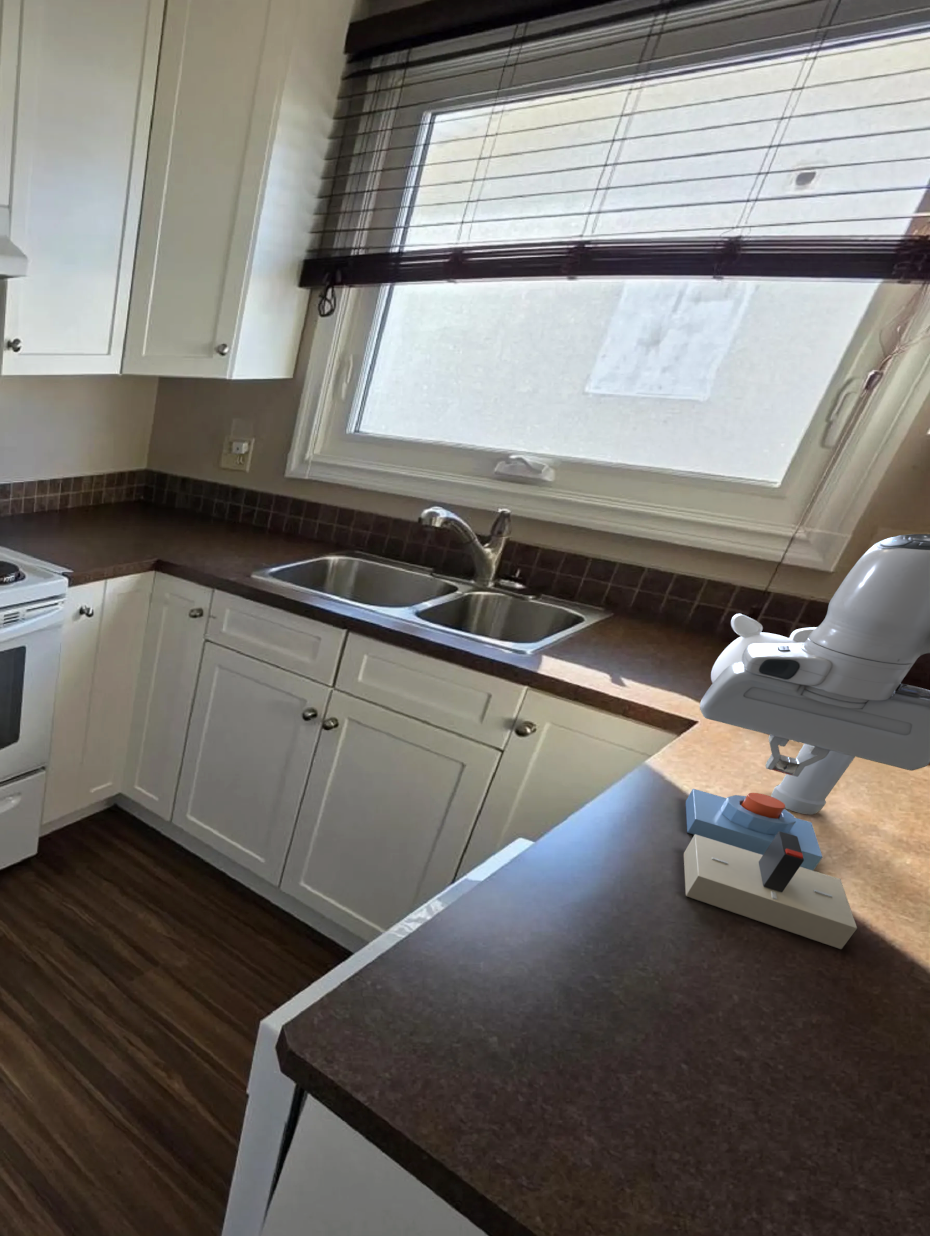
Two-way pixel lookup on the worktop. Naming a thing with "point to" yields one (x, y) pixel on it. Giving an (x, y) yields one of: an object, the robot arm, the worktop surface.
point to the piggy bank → (751, 641)
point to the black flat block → (780, 861)
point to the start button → (763, 805)
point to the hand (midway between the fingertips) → (780, 771)
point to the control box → (768, 892)
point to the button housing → (747, 825)
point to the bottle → (812, 782)
